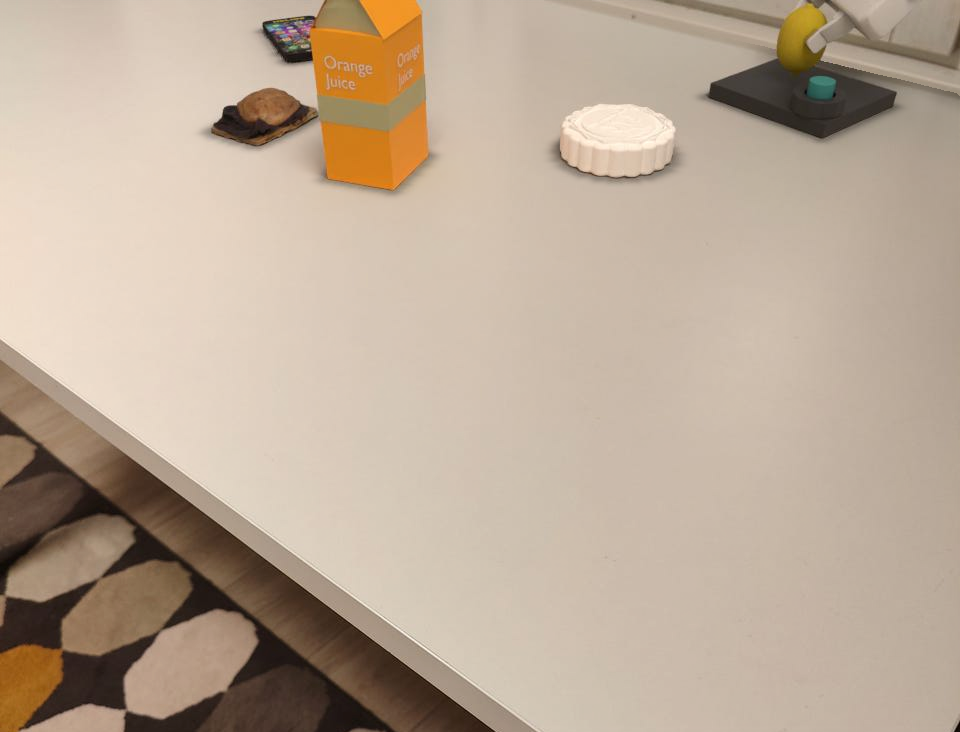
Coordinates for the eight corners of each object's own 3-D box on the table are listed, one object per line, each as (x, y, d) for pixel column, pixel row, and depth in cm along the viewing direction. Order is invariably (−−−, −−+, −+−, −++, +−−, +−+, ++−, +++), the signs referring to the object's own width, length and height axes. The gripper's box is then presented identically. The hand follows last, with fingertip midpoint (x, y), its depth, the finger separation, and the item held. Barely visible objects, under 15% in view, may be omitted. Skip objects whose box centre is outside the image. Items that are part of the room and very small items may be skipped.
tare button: (837, 96, 104) (841, 80, 103) (822, 103, 103) (826, 87, 102) (816, 89, 106) (819, 73, 105) (800, 96, 105) (804, 79, 103)
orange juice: (326, 178, 97) (299, -37, 84) (364, 145, 103) (345, -61, 90) (395, 190, 95) (378, -29, 81) (430, 156, 101) (421, -54, 87)
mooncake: (628, 189, 95) (632, 155, 92) (536, 156, 101) (537, 122, 98) (694, 152, 101) (699, 118, 99) (604, 122, 107) (607, 90, 105)
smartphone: (284, 55, 121) (259, 21, 132) (285, 63, 122) (260, 28, 132) (343, 47, 123) (314, 14, 134) (344, 55, 124) (315, 21, 134)
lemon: (800, 88, 109) (816, 14, 103) (761, 75, 112) (774, 3, 106) (828, 76, 111) (845, 3, 106) (789, 64, 115) (803, -7, 109)
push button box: (893, 106, 110) (902, 75, 108) (820, 139, 103) (827, 107, 101) (780, 69, 119) (786, 40, 117) (706, 98, 113) (710, 67, 110)
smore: (270, 102, 113) (265, 70, 110) (324, 117, 109) (320, 84, 107) (204, 131, 106) (198, 98, 104) (259, 148, 103) (253, 114, 100)
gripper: (962, -12, 97) (845, 89, 103) (882, -63, 112) (784, 28, 118) (934, -60, 93) (814, 48, 99) (855, -105, 108) (756, -9, 114)
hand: (797, 37), depth 109 cm, fingers closed on lemon, 5 cm apart
